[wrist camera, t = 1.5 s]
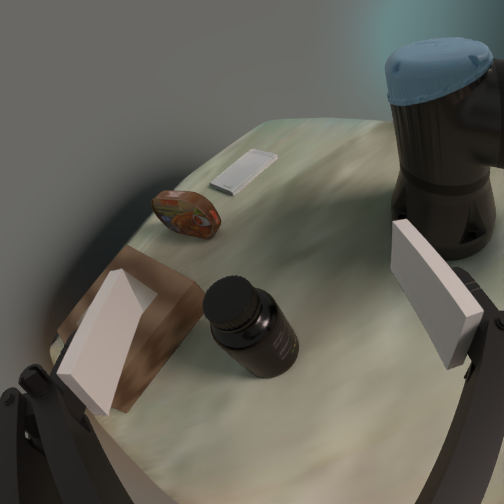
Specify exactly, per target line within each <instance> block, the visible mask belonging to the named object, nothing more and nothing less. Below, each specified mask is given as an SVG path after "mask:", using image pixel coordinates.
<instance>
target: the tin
mask: <svg viewBox="0 0 504 504" xmlns="http://www.w3.org/2000/svg"><path fill="white" fill-rule="evenodd" d="M151 206H152V209H153V211H154V213H155V214H156V216H157V217H158V218H159V219H160V221H161V222H162V223H163V224H165V225H166V226H167V227H168V228H169V229H171V230H173V231H175V232H177V233H181V234H186V235H191V236H195V237H200V238H204V239H209V238H212V237H213V236H214V234H215V232H216V231H217V230H218V229H219V227H220V225H221V219H220V216H219V214H218V212H217V211H216V209H215V207H214V206H213V204H212V203H211V202H210V201H209V200H208V199H207V198H205V197H204V196H202V195H200V194H198V193H196V192H190V191H168V190H166V191H162V192H161V193H160V194H158V195H157V196H156V197H155V198H154V199H152V201H151Z"/></svg>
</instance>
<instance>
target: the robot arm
mask: <svg viewBox="0 0 504 504" xmlns="http://www.w3.org/2000/svg"><path fill="white" fill-rule="evenodd" d="M385 74H386V79H387V87H388V94H387V97H388V101H389V102H390V105H391V110H392V116H393V121H394V127H395V134H396V140H397V147H398V154H399V161H400V172H399V175H398V179H397V183H396V186H395V189H394V193H393V196H392V201H391V212H392V251H391V268H390V270H391V271H392V273H393V275H394V276H395V278H396V279H397V281H398V283H399V284H400V286H401V288H402V289H403V291H404V293H405V294H406V296H407V298H408V299H409V301H410V303H411V305H412V306H413V308H414V310H415V311H416V313H417V315H418V317H419V318H420V320H421V322H422V324H423V326H424V327H425V329H426V331H427V333H428V335H429V337H430V338H431V340H432V342H433V344H434V346H435V348H436V350H437V352H438V354H439V356H440V358H441V360H442V361H443V363H444V365H445V367H446V369H447V370H449V369H451V368H454V367H457V366H459V365H462V364H463V363H464V361H465V359H466V356H467V354H468V356H469V357H470V359H471V361H472V362H471V364H470V366H469V368H468V370H467V372H466V374H465V376H464V378H465V379H466V380H465V384H464V387H463V391H462V394H461V397H460V400H459V403H458V406H457V409H456V412H455V415H454V418H453V421H452V423H451V426H450V429H449V431H448V434H447V437H446V439H445V442H444V444H443V446H442V449H441V451H440V453H439V456H438V458H437V460H436V463H435V465H434V467H433V469H432V471H431V473H430V475H429V477H428V479H427V481H426V483H425V485H424V487H423V489H422V491H421V493H420V495H419V497H418V499H417V501H416V502H415V504H481V502H482V499H483V497H484V495H485V492H486V489H487V487H488V484H489V481H490V479H491V476H492V473H493V470H494V467H495V464H496V461H497V458H498V454H499V451H500V447H501V444H502V440H503V436H504V311H499V310H498V309H497V308H496V306H495V305H494V304H493V303H492V301H491V300H490V299H489V297H488V296H487V295H486V294H485V292H484V291H483V290H482V289H480V286H479V285H478V284H477V283H476V282H475V280H474V279H473V278H472V277H471V275H470V274H469V273H468V272H466V271H465V270H463V269H461V268H460V267H455V268H450V267H449V266H448V264H447V263H446V262H445V261H444V260H455V259H461V258H465V257H468V256H471V255H473V254H475V253H477V252H478V251H480V250H481V249H482V248H483V247H484V246H485V245H486V244H487V243H488V241H489V240H490V238H491V236H492V233H493V229H494V224H495V219H496V209H495V203H494V197H493V192H492V187H491V183H490V178H489V176H490V166H491V167H497V168H502V169H504V60H501V59H495V58H493V57H492V54H491V53H490V50H489V48H488V47H487V46H486V45H485V44H483V43H482V42H480V41H476V40H473V39H464V38H458V37H457V38H456V37H446V38H434V39H428V40H423V41H418V42H414V43H411V44H408V45H406V46H403V47H401V48H399V49H397V50H396V51H394V52H393V53H392V54H391V55H390V56H389V58H388V59H387V61H386V64H385ZM142 312H143V310H142V308H141V306H140V304H139V302H138V300H137V298H136V296H135V294H134V292H133V290H132V288H131V286H130V284H129V282H128V280H127V277H126V275H125V273H124V271H123V269H119V270H114V271H110V272H109V274H108V276H107V277H106V279H105V281H104V282H103V284H102V286H101V288H100V289H99V291H98V293H97V295H96V296H95V298H94V300H93V302H92V304H91V305H90V307H89V309H88V311H87V313H86V315H85V317H84V318H83V320H82V322H81V324H80V326H79V328H78V329H76V330H75V331H74V332H73V333H72V334H71V335H70V336H69V337H68V339H67V341H66V343H65V345H64V348H63V349H62V351H61V355H59V357H58V359H57V361H56V363H55V365H54V368H53V369H52V372H51V374H50V376H49V375H48V374H47V373H46V371H45V370H44V369H43V368H42V367H41V366H40V365H38V364H33V365H31V366H28V367H27V368H26V369H25V370H24V371H23V372H22V374H21V375H20V378H19V385H20V386H21V387H22V388H23V389H24V390H25V391H26V392H27V393H26V394H21V393H20V391H19V390H18V389H17V388H13V387H12V388H9V389H7V390H6V391H5V392H3V394H2V396H1V398H0V504H134V503H133V501H132V500H131V498H130V496H129V495H128V493H127V492H126V490H125V488H124V487H123V485H122V483H121V482H120V480H119V478H118V476H117V475H116V473H115V471H114V469H113V467H112V465H111V464H110V462H109V460H108V458H107V456H106V454H105V453H104V450H103V448H102V446H101V444H100V442H99V440H98V438H97V436H96V434H95V432H94V430H93V427H92V425H91V423H90V421H89V419H88V417H87V416H86V415H85V414H84V412H85V409H86V407H87V408H88V409H89V410H90V411H91V412H92V413H93V414H94V415H106V416H108V415H109V411H110V408H111V404H112V401H113V398H114V394H115V391H116V388H117V385H118V382H119V378H120V375H121V372H122V369H123V366H124V363H125V360H126V357H127V354H128V351H129V348H130V345H131V342H132V340H133V337H134V334H135V331H136V328H137V325H138V323H139V320H140V317H141V314H142ZM25 431H26V432H27V433H28V439H27V438H26V437H25Z"/></svg>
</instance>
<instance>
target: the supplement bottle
mask: <svg viewBox="0 0 504 504" xmlns="http://www.w3.org/2000/svg"><path fill="white" fill-rule="evenodd" d="M202 305H203V307H202V309H203V313H204V314H205V317H206V318H207V319H208V320H209V321H210V322H211V325H210V326H211V333H212V336H213V338H214V340H215V341H216V343H217V344H218V345H219V346H220V347H221V348H222V349H223V350H225V351H226V352H227V353H228V354H229V355H230V356H231V357H233V358H234V359H235V360H236V361H237V362H238V363H240V364H241V365H242V366H243V367H244V368H245V369H247V370H248V371H249V372H251V373H252V374H254V375H256V376H258V377H263V378H271V377H276V376H279V375H281V374H283V373H284V372H286V371H287V370H288V369H289V368H290V367H291V366H292V365H293V364H294V362H295V360H296V358H297V356H298V352H299V342H298V339H297V336H296V334H295V332H294V330H293V329H292V327H291V326H290V324H289V322H288V321H287V319H286V317H285V316H284V314H283V312H282V311H281V309H280V308H279V306H278V304H277V303H276V301H275V300H274V298H273V297H272V296H271V295H270V294H269V293H267V292H266V291H264V290H262V289H259V288H254V287H253V286H252V285H251V283H250V282H249V281H248V280H246V279H245V278H242V277H241V276H237V275H236V276H227V277H225V278H222V279H220V280H218V281H217V282H215V283H214V284H213V285H212V286H210V288H209V289H208V290H207V292H206V294H205V295H204V298H203V303H202Z"/></svg>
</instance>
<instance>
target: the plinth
mask: <svg viewBox="0 0 504 504" xmlns="http://www.w3.org/2000/svg"><path fill="white" fill-rule="evenodd" d="M119 269H123V271H124V273H125V275H126V277H127V280H128V282H129V284H130V286H131V288H132V290H133V292H134V294H135V296H136V298H137V300H138V302H139V304H140V306H141V308H142V310H143V312H142V314H141V317H140V320H139V323H138V325H137V328H136V331H135V334H134V337H133V340H132V342H131V345H130V348H129V351H128V354H127V357H126V360H125V363H124V366H123V369H122V372H121V375H120V378H119V382H118V385H117V388H116V391H115V394H114V398H113V401H112V404H111V407H113V408H116V409H118V410H120V411H123V412H125V413H127V412H128V411H129V409H130V408H131V407H132V405H133V404H134V403H135V402H136V400H137V399H138V398H139V396H140V395H141V394H142V392H143V391H144V390H145V389H146V387H147V386H148V385H149V383H150V382H151V381H152V380H153V378H154V377H155V376H156V374H157V373H158V372H159V371H160V369H161V368H162V367H163V365H164V364H165V363H166V361H167V360H168V359H169V358H170V356H171V355H172V354H173V352H174V351H175V350H176V349H177V347H178V346H179V345H180V343H181V342H182V341H183V340H184V338H185V337H186V336H187V334H188V333H189V332H190V330H191V329H192V328H193V327H194V325H195V324H196V323H197V321H198V320H199V319H200V318H201V316H202V315H203V314H204V313H203V309H202V307H203V305H202V303H203V298H204V295H205V293H204V292H203V290H202V289H201V288H200V287H199V286H198V285H197V284H196V282H195V281H193V280H191V279H189V278H187V277H186V276H184V275H182V274H180V273H178V272H176V271H174V270H172V269H170V268H169V267H167V266H165V265H163V264H161V263H159V262H158V261H156V260H154V259H152V258H150V257H148V256H147V255H145V254H143V253H141V252H139V251H138V250H136V249H134V248H132V247H130V246H129V245H126V246H125V247H124V248H123V249H122V250H121V251H120V253H119V254H118V255H117V256H116V257H115V258H114V260H113V261H112V262H111V263H110V264H109V265H108V267H107V268H106V269H105V270H104V271H103V273H102V274H101V275H100V276H99V277H98V279H97V280H96V281H95V282H94V283H93V285H92V286H91V287H90V288H89V290H88V291H87V292H86V293H85V295H84V296H83V297H82V298H81V300H80V301H79V302H78V304H77V305H76V306H75V307H74V309H73V310H72V311H71V313H70V314H69V315H68V316H67V318H66V319H65V320H64V322H63V323H62V324H61V326H60V327H59V328H58V330H57V331H58V333H59V335H60V337H61V339H62V341H63V342H64V344H65V343H66V341H67V339H68V337H69V336H70V335H71V334H72V333H73V332H74V331H75V330H76V329H78V328H79V326H80V324H81V322H82V320H83V318H84V317H85V315H86V313H87V311H88V309H89V307H90V305H91V304H92V302H93V300H94V298H95V296H96V295H97V293H98V291H99V289H100V288H101V286H102V284H103V282H104V281H105V279H106V277H107V276H108V274H109V272H110V271H114V270H119Z"/></svg>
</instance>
